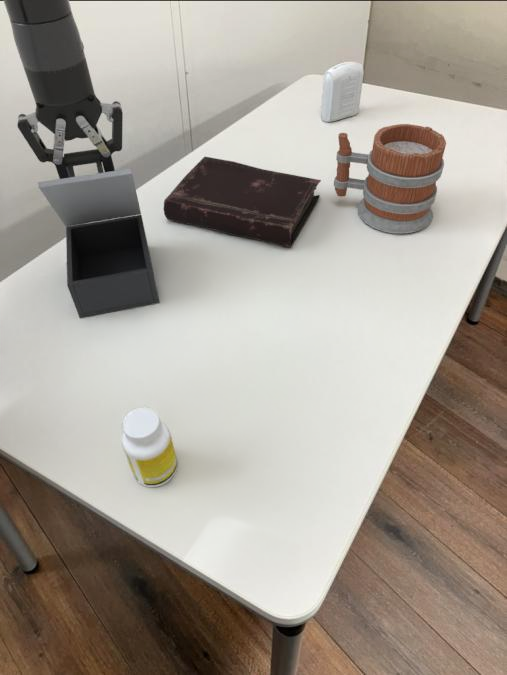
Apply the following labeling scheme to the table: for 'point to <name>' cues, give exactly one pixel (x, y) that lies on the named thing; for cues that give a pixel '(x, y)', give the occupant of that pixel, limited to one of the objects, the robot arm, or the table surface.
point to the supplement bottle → (148, 447)
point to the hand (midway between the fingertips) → (89, 180)
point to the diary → (243, 201)
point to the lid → (91, 192)
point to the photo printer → (341, 91)
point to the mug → (395, 177)
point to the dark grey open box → (109, 266)
